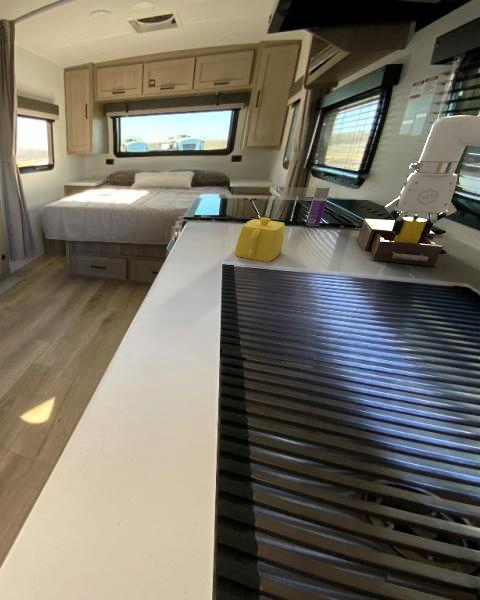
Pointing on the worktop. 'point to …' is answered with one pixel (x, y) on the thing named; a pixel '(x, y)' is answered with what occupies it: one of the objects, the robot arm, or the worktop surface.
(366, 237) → the cabinet
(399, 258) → the drawer
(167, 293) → the worktop surface
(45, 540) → the worktop surface
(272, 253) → the teapot
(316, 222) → the container
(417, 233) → the yellow cylinder
